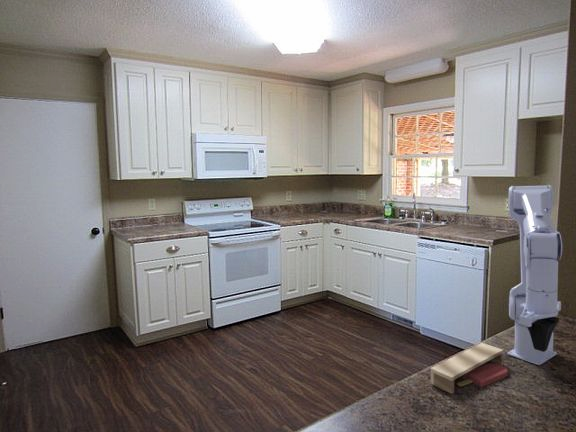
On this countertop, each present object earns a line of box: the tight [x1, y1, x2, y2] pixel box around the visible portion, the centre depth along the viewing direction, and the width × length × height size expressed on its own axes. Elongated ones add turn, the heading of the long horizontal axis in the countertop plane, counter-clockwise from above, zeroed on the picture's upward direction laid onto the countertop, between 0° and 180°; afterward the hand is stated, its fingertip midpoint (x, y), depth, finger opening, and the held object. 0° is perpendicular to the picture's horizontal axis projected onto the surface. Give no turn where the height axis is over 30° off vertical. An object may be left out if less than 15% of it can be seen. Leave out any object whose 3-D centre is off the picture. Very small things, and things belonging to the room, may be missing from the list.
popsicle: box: [456, 363, 509, 388], centre depth 96 cm, size 5×2×15 cm
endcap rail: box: [430, 342, 504, 395], centre depth 98 cm, size 21×6×4 cm, turn 124°
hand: (540, 349), depth 89 cm, fingers closed
